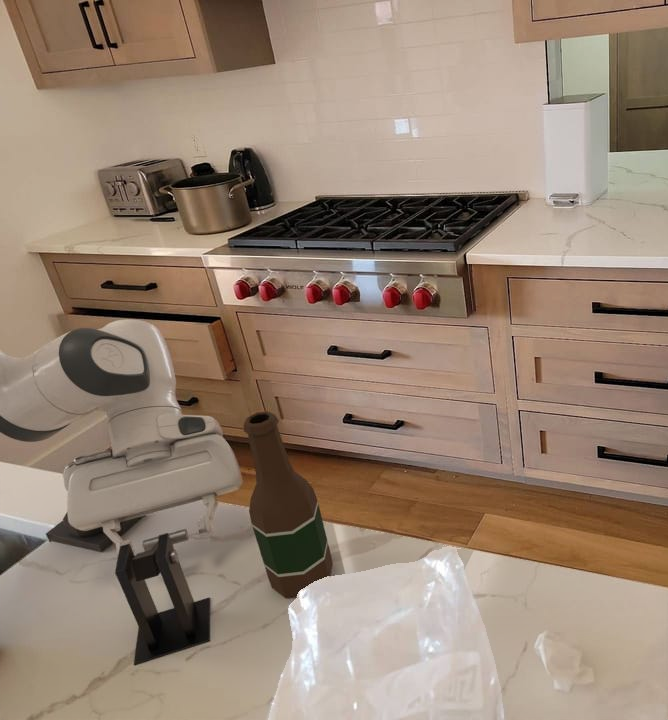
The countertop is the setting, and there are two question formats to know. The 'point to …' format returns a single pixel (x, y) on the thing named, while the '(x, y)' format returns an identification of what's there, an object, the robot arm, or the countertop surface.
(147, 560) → the power lever
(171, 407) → the robot arm
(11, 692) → the countertop surface
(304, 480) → the beer bottle
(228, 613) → the countertop surface
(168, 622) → the power switch
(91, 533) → the panel
